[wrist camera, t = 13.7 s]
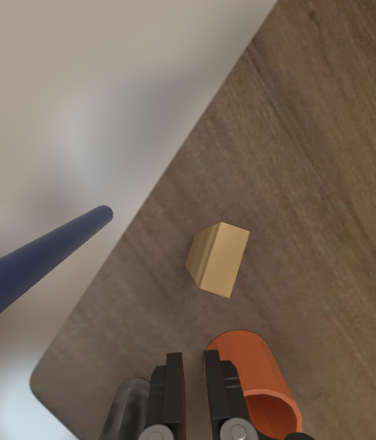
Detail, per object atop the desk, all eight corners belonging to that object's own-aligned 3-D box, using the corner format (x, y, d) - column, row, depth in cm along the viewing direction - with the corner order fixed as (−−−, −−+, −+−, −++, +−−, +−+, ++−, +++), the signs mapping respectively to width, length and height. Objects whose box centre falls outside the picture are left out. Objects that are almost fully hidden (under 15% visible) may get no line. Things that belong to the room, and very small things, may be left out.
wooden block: (184, 265, 27) (198, 289, 13) (195, 233, 27) (220, 221, 13) (199, 270, 27) (229, 299, 13) (209, 238, 27) (250, 231, 13)
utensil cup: (205, 391, 31) (213, 468, 23) (200, 332, 29) (208, 394, 22) (271, 385, 31) (301, 459, 23) (270, 326, 30) (303, 385, 22)
